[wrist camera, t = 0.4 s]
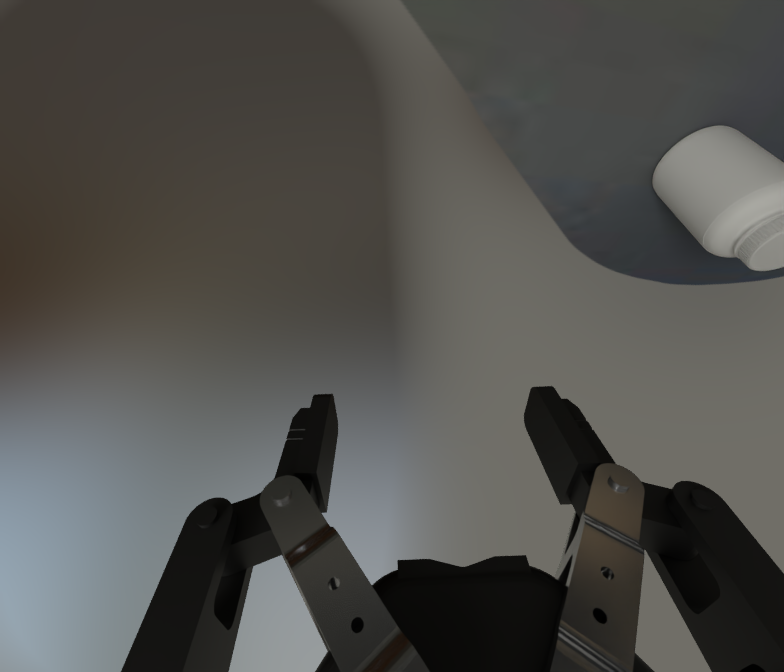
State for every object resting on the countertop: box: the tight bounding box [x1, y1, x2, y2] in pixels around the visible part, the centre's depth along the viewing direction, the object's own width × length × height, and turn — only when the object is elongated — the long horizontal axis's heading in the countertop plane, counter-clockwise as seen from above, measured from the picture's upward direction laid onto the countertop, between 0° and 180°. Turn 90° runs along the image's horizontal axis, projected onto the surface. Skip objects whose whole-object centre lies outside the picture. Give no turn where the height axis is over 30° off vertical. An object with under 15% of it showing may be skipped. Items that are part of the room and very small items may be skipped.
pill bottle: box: [652, 126, 784, 271], centre depth 33 cm, size 8×8×15 cm
